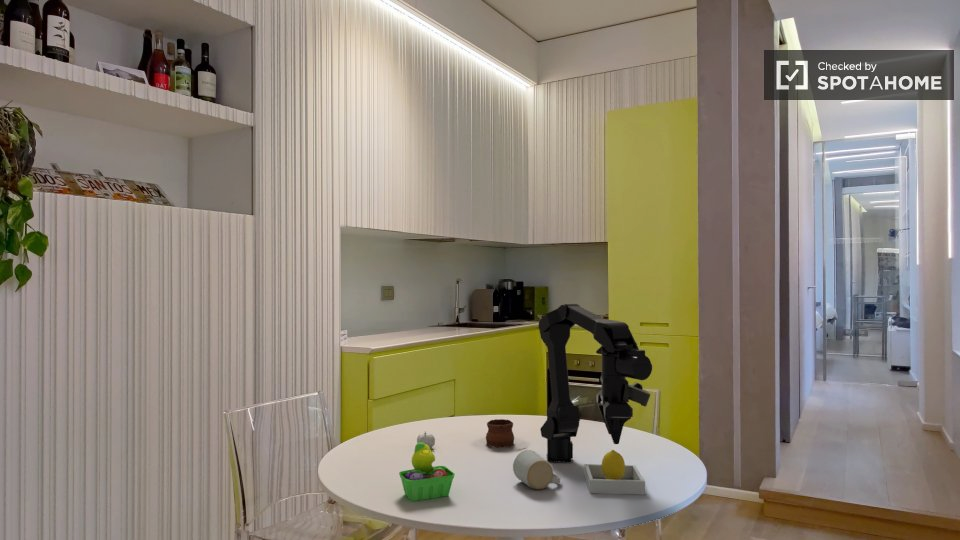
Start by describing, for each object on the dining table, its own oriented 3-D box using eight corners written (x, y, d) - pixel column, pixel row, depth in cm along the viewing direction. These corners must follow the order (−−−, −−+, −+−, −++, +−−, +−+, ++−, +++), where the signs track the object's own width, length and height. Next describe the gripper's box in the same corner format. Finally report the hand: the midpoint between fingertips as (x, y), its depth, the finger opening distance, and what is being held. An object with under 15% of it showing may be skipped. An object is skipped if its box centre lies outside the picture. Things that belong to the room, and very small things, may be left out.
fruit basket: (407, 504, 137) (407, 452, 137) (396, 491, 145) (396, 442, 145) (455, 497, 142) (456, 447, 142) (442, 485, 150) (442, 438, 150)
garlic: (429, 452, 178) (429, 433, 178) (412, 450, 180) (412, 432, 180) (438, 446, 184) (438, 429, 184) (422, 445, 186) (422, 427, 186)
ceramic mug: (527, 493, 144) (528, 459, 145) (512, 482, 152) (512, 450, 152) (567, 488, 149) (567, 455, 149) (550, 477, 156) (550, 446, 156)
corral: (589, 493, 144) (589, 480, 145) (584, 475, 157) (584, 463, 157) (645, 494, 144) (645, 481, 144) (635, 477, 156) (635, 465, 156)
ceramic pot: (542, 446, 185) (541, 422, 185) (494, 457, 175) (494, 431, 175) (504, 435, 200) (503, 412, 200) (458, 444, 189) (458, 421, 189)
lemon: (625, 487, 147) (625, 453, 147) (601, 486, 148) (601, 452, 148) (625, 480, 153) (624, 447, 153) (601, 479, 154) (601, 446, 154)
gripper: (655, 381, 141) (655, 450, 141) (640, 369, 160) (640, 430, 160) (605, 380, 142) (605, 449, 142) (596, 368, 161) (596, 429, 160)
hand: (613, 438), depth 151 cm, fingers open, 9 cm apart
